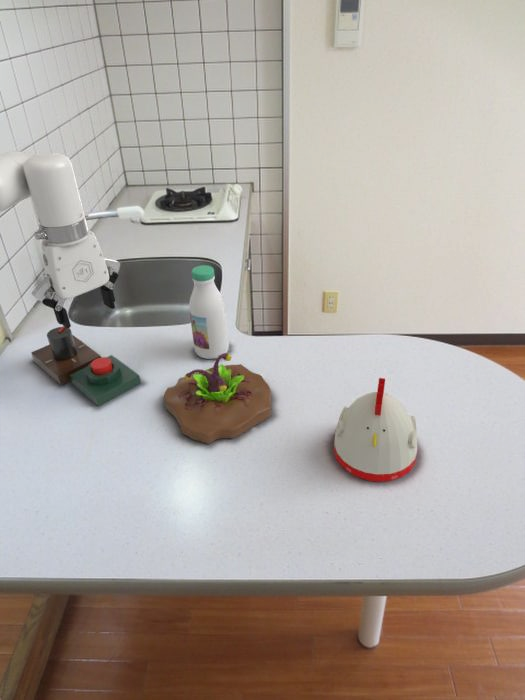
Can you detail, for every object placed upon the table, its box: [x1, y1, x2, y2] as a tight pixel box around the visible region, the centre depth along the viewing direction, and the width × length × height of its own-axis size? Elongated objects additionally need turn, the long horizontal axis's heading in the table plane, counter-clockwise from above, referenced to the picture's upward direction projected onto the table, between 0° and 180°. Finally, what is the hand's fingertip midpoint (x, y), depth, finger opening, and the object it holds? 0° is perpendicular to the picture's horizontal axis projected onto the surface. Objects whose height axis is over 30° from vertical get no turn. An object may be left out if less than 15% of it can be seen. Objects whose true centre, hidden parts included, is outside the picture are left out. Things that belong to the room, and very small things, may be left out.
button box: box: [70, 354, 142, 407], centre depth 109 cm, size 11×10×4 cm
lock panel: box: [30, 334, 102, 386], centre depth 116 cm, size 13×10×3 cm
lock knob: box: [46, 325, 77, 360], centre depth 114 cm, size 5×5×6 cm
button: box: [91, 356, 113, 375], centre depth 107 cm, size 4×4×2 cm
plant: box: [163, 352, 272, 445], centre depth 99 cm, size 20×20×11 cm
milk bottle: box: [188, 264, 230, 360], centre depth 113 cm, size 8×8×20 cm
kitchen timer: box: [333, 377, 419, 483], centre depth 86 cm, size 14×14×15 cm
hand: (88, 315), depth 101 cm, fingers open, 9 cm apart
